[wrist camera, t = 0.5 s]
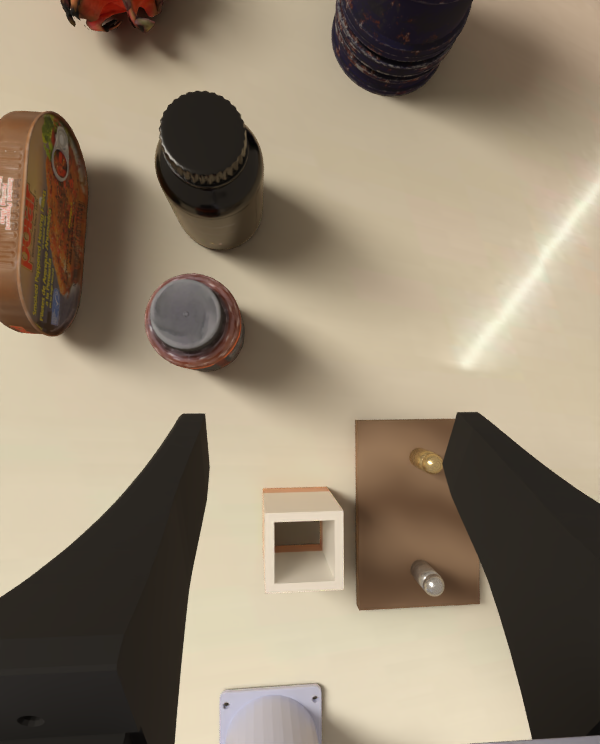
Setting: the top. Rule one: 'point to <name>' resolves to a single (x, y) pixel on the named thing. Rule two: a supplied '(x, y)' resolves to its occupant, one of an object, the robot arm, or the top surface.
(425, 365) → the top surface
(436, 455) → the brass pin
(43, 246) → the tin
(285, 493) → the sleeve
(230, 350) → the supplement bottle
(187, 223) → the supplement bottle
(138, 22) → the dragon fruit
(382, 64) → the dark blue cylinder
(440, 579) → the steel pin
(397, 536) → the board
